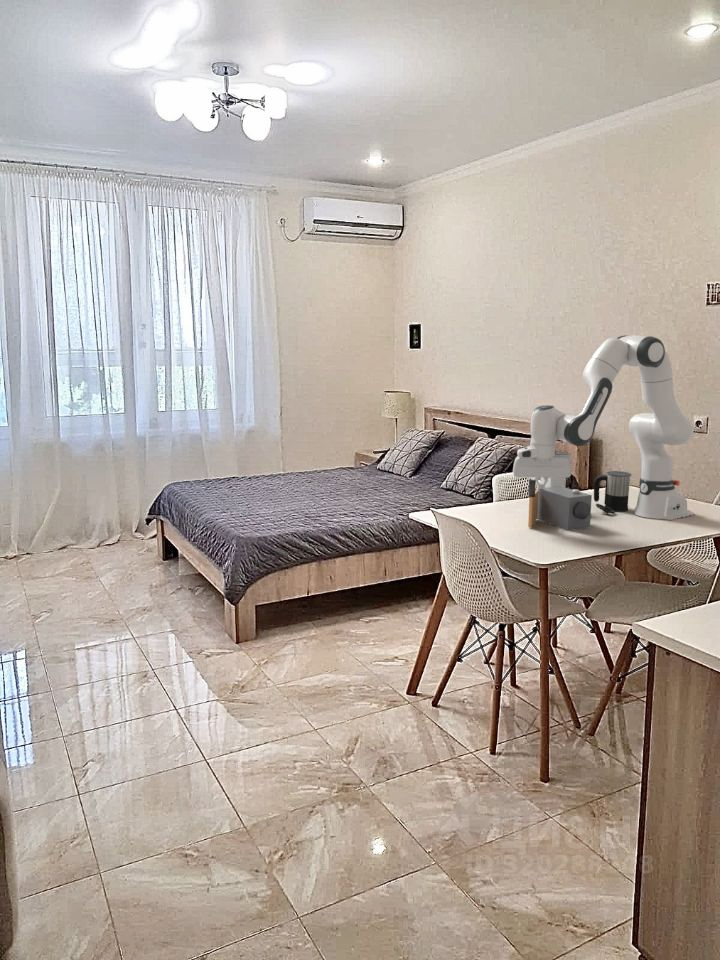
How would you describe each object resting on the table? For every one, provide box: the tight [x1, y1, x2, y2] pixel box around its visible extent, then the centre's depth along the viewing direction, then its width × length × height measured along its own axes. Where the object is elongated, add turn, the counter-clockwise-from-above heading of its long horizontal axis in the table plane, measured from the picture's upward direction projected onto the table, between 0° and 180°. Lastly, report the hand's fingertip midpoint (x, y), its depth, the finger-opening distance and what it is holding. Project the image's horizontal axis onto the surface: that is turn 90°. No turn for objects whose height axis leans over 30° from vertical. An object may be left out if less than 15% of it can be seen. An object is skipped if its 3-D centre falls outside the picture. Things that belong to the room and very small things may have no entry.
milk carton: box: [539, 477, 567, 488], centre depth 303 cm, size 7×7×19 cm
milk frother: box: [593, 470, 632, 515], centre depth 300 cm, size 14×16×15 cm
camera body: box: [537, 486, 593, 531], centre depth 281 cm, size 10×20×13 cm, turn 23°
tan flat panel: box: [527, 479, 538, 528], centre depth 280 cm, size 2×14×17 cm, turn 158°
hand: (541, 489), depth 274 cm, fingers closed
